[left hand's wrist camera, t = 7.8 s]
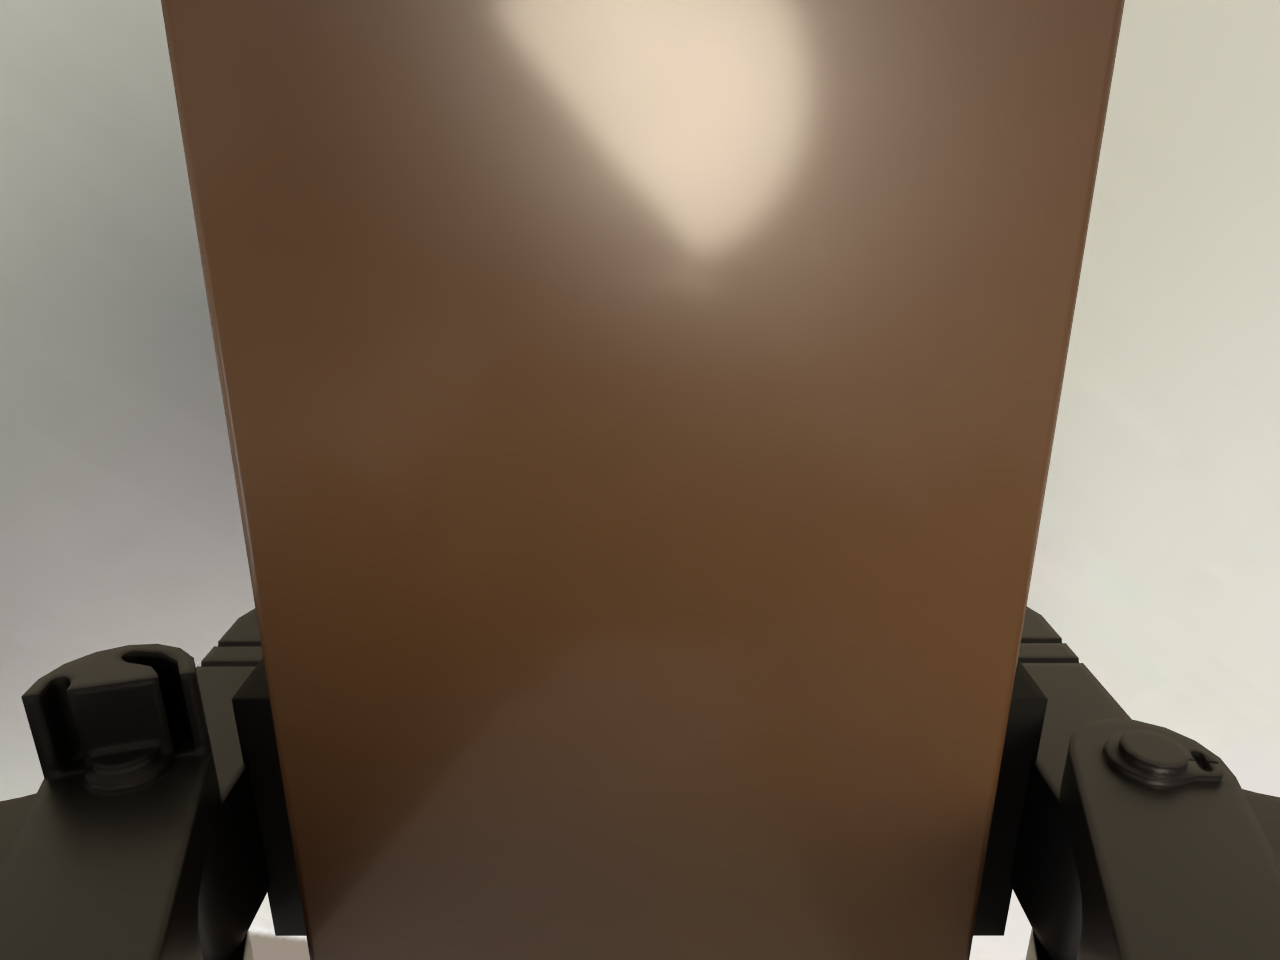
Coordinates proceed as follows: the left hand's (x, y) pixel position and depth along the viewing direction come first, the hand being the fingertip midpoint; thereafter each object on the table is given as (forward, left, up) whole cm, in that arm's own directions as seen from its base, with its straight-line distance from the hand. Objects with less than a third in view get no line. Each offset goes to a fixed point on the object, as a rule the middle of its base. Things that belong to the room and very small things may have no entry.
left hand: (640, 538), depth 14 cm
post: (-3, +27, -1) cm, 27 cm away
